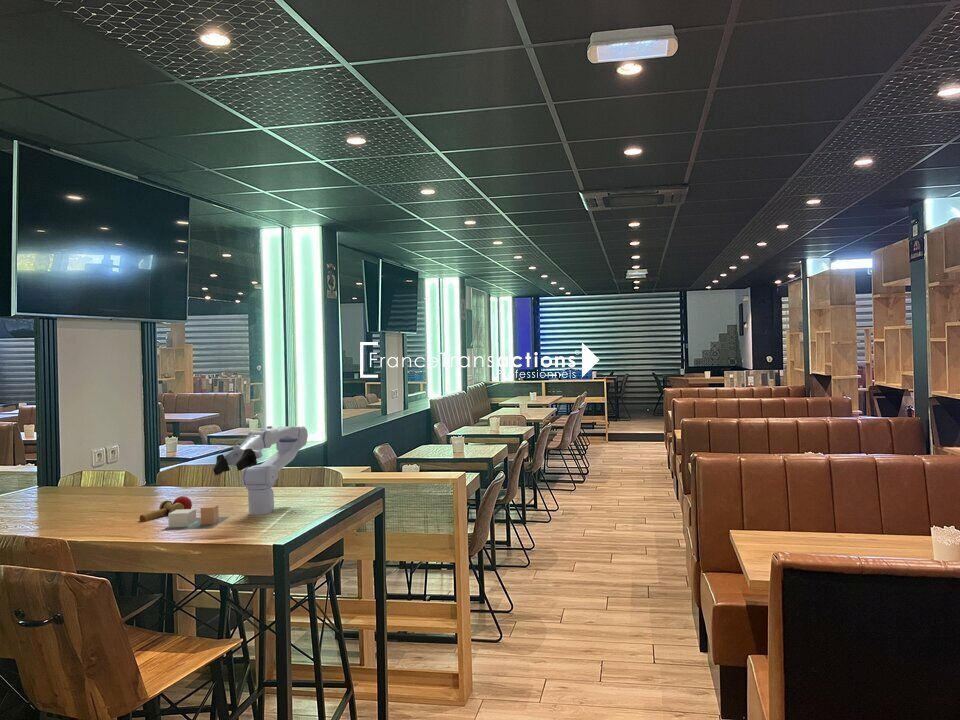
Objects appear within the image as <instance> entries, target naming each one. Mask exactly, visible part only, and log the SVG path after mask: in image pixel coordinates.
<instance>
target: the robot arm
mask: <svg viewBox="0 0 960 720" xmlns="http://www.w3.org/2000/svg"><path fill="white" fill-rule="evenodd" d="M308 435H309V434H308V429H307V428H306V426H303V425H302V426H278V427H277V428H276V427H273V426H272V425H267V426H266V428H260V429H259V430H252V431H249V432H248V433H247V435H246V436H247V437H246V438H245V439H244V441H243V442H242V443H241V444H237V445H233V447H232V449H233V450H231V451H230V452H228V453H227V454H225V455H224V454H222V453H221V454H218V455H217V456H216V460H215V464H214V467H213V469H212V470H213V474H214V476H219V475H220V474H222V473H224V472H225V473H226V472H229V471H230V470H231V469H230V467H229V466H233V467H236V469H237V471H239V472H240V471H242V472H241V478H240V479H241V483H242V484H243V486H244V487H245V489H246V490H247V495H248V497H247V498H248V499H247V500H248V515H249V516H263V515H269V514H271V513H273V511H274V510H275V499H274V497H275V496H274V495H275V494H274V490H273V489H272V487H274V485H275V484H276V482H277V480H278V479H279V471H281V470H282V469H283V468H284V467H286V466H287V465H288V464H289V463H291V462H292V461H293V460H294V459H295V457H296V456H297V454H298V453H299V451H300V450H301V449H302V448H303V447H305V446H306V445H307V442H308V437H309V436H308ZM275 444H276V446H275V447H276V448H275V449H276V450H277V452H276V453H274V454H273V455H272V456H270V457H269V458H268V459H266V460H265V461H263V462H262V463H260V464H258V460H259V459H261V458H262V457H263V453H262V451H263V449H270V448H271V447H272V445H275Z"/></svg>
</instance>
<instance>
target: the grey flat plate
mask: <svg viewBox="0 0 960 720" xmlns="http://www.w3.org/2000/svg"><path fill="white" fill-rule="evenodd" d="M229 518H230V516H219V521H218V522H217V523H215V524H201V517H196V522H195V523H193V524H192V525H190V526H184V527H169V525H168V526H166V527H165V528H162V530H161V531H184V530H185V531H187V530H207V529H208V530H209V529H210V530H211V529H215V527H217V526H218V525H220V524H222V523H223V522H224V521H226V520H227V519H229Z"/></svg>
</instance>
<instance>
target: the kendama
mask: <svg viewBox="0 0 960 720" xmlns="http://www.w3.org/2000/svg"><path fill="white" fill-rule="evenodd" d="M192 507H193V502H192V500H191V499H190V498H189V497H187V496H185V495H183V496H182V495H181V496H179V497H177V498H175V499H174V500H173V502H172V501H171V500H168V499H167V500H163V501H162V502H161V503H160V504H159V509H157V510H154V511H151V512H147V513H142V514H140V515H139V521H140V522H148V521H152V520H155V519H158V518H160V517H161V516H163V515H165V514H167V515H168V514H169V513H171V512H173V511H175V510H182V509H192Z"/></svg>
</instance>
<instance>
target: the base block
mask: <svg viewBox="0 0 960 720" xmlns="http://www.w3.org/2000/svg"><path fill="white" fill-rule="evenodd" d="M167 515H168V517H167V518H168V526H169V527H184V526H190V525H192V524H193V523H195V522H196V518H197V510H196V508H191V509H182V510H175V511H173V512H171V513H167Z"/></svg>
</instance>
